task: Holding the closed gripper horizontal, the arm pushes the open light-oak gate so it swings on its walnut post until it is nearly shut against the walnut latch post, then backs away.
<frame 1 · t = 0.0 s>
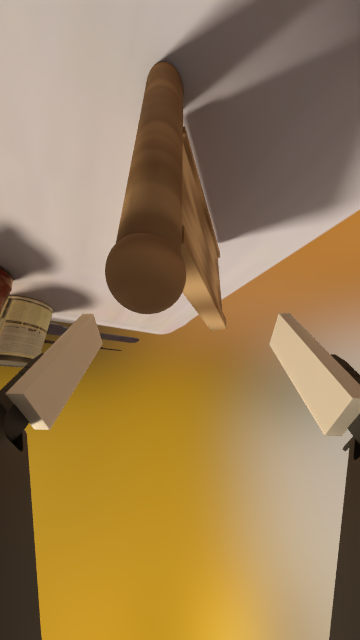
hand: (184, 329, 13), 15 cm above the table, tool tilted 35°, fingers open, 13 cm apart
hinge post: (164, 92, 13), on the table
coffee can: (29, 304, 45), on the table
gate: (200, 251, 17), point 7 cm above the table, hinge at 0.0°
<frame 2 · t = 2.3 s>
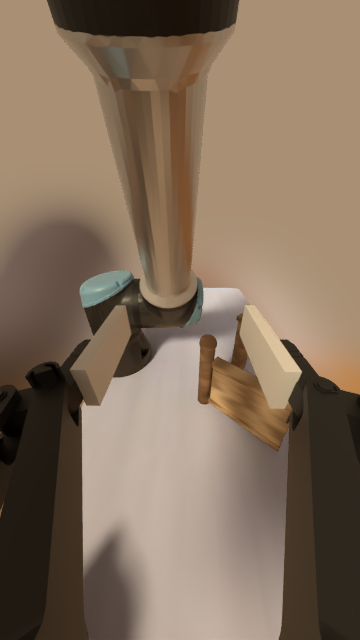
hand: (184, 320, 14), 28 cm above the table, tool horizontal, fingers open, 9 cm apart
hinge post: (203, 398, 40), on the table
latch post: (237, 366, 48), on the table
gate: (246, 401, 31), point 7 cm above the table, hinge at 0.0°
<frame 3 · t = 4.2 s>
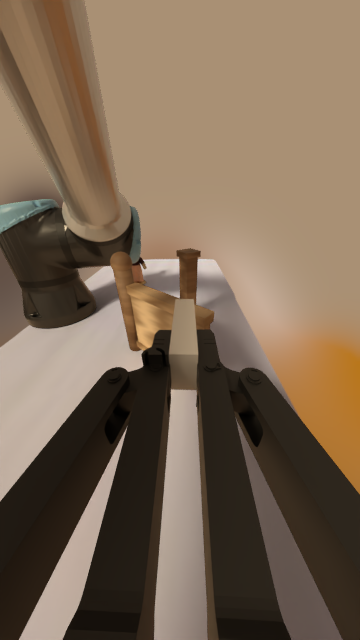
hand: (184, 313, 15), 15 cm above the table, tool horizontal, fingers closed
hinge post: (136, 346, 34), on the table
latch post: (187, 318, 42), on the table
grandmother figurine: (137, 283, 62), on the table
gate: (166, 333, 26), point 7 cm above the table, hinge at 0.0°
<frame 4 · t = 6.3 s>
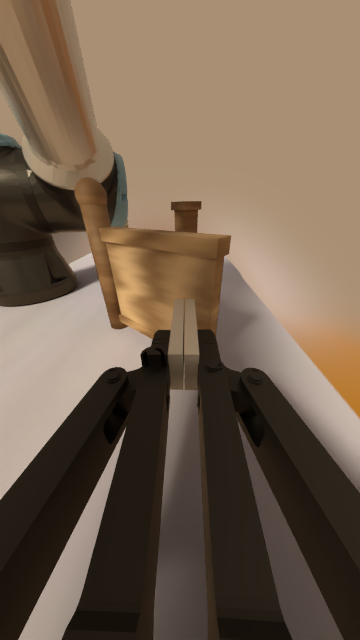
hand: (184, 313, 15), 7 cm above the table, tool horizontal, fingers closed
hinge post: (120, 323, 27), on the table
latch post: (186, 295, 35), on the table
gate: (157, 292, 18), point 7 cm above the table, hinge at 2.7°
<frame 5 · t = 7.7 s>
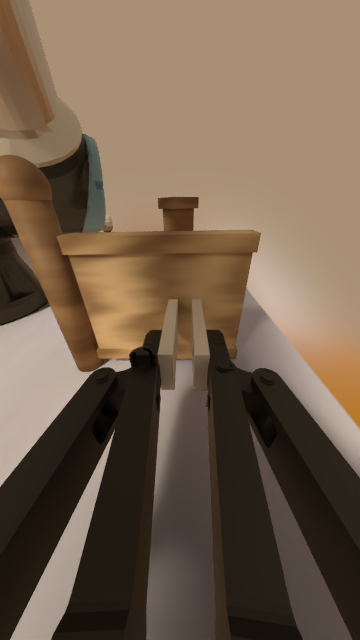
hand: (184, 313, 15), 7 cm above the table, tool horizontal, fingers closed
hinge post: (91, 362, 20), on the table
latch post: (180, 315, 28), on the table
grandmother figurine: (115, 271, 48), on the table
gate: (163, 303, 16), point 7 cm above the table, hinge at 39.4°, touching gripper
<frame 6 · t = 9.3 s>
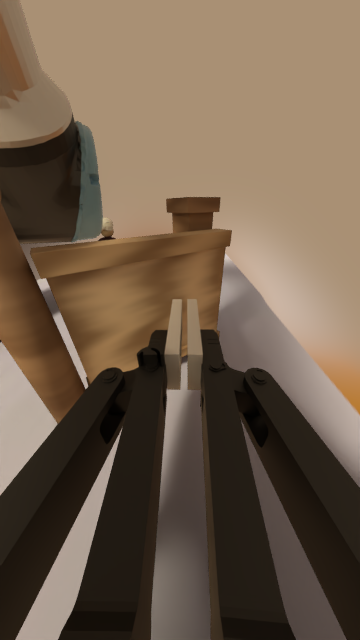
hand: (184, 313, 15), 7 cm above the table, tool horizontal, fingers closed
hinge post: (76, 413, 15), on the table
latch post: (190, 340, 23), on the table
grandmother figurine: (116, 280, 43), on the table
gate: (158, 309, 15), point 7 cm above the table, hinge at 76.0°, touching gripper
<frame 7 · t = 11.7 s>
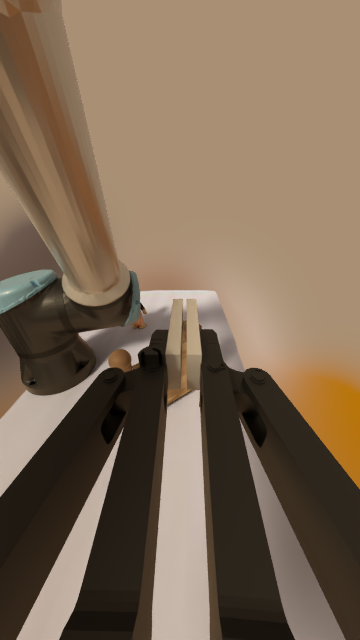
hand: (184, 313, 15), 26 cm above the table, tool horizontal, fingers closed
hinge post: (136, 423, 33), on the table
grandmother figurine: (137, 326, 62), on the table
gate: (173, 375, 33), point 7 cm above the table, hinge at 76.1°
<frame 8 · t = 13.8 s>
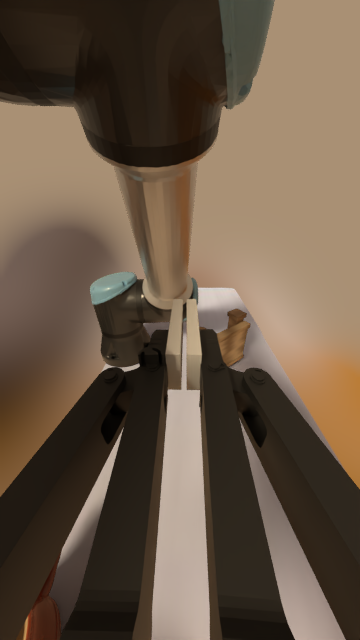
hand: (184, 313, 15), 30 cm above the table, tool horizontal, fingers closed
latch post: (229, 357, 53), on the table
mug: (38, 630, 19), on the table
gate: (225, 349, 46), point 7 cm above the table, hinge at 76.1°
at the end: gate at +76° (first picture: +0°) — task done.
